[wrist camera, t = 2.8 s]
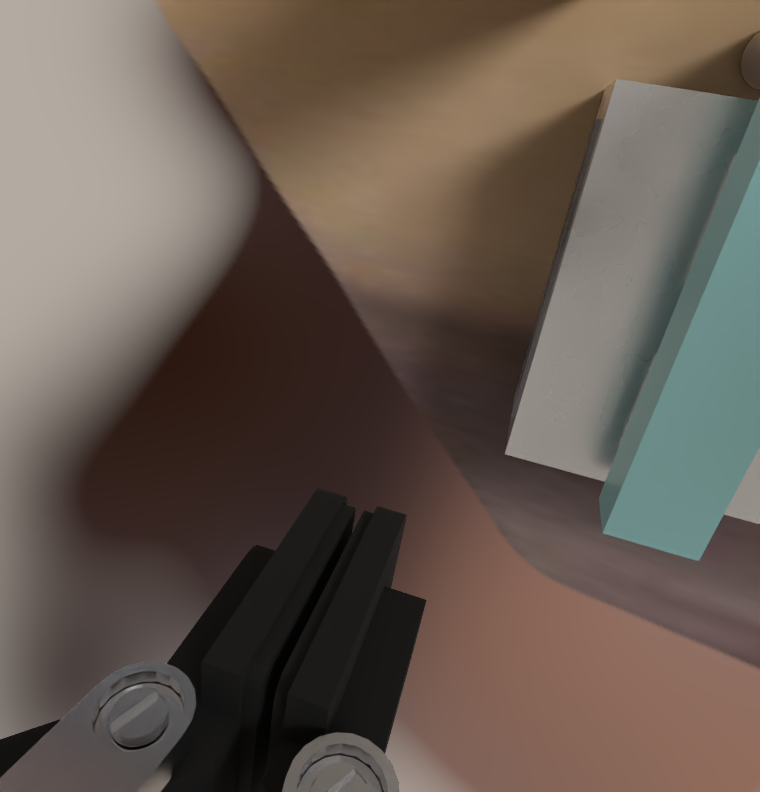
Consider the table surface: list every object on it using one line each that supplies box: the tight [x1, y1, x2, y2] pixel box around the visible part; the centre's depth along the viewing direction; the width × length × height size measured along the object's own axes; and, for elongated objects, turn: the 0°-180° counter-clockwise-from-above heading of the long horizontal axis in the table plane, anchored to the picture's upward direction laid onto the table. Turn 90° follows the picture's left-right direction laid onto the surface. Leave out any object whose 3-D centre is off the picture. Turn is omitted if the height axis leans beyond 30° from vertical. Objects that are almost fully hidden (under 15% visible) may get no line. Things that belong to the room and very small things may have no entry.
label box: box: [505, 79, 760, 524], centre depth 25 cm, size 16×12×6 cm
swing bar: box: [599, 31, 760, 561], centre depth 22 cm, size 19×4×11 cm, turn 171°
